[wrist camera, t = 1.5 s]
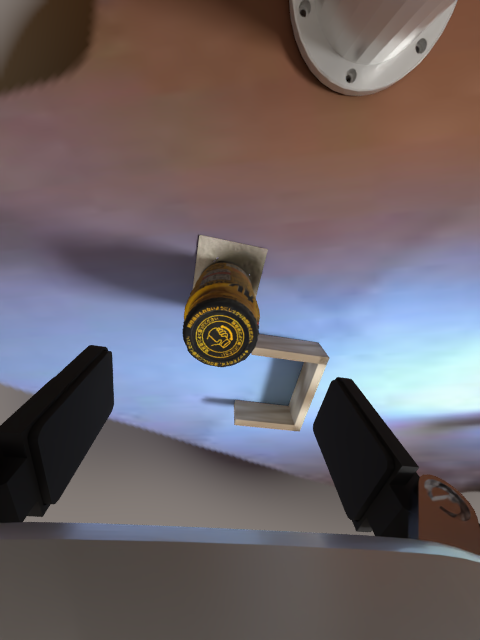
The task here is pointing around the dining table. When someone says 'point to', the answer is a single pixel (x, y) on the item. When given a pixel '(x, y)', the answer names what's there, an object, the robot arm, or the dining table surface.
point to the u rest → (303, 391)
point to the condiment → (223, 302)
